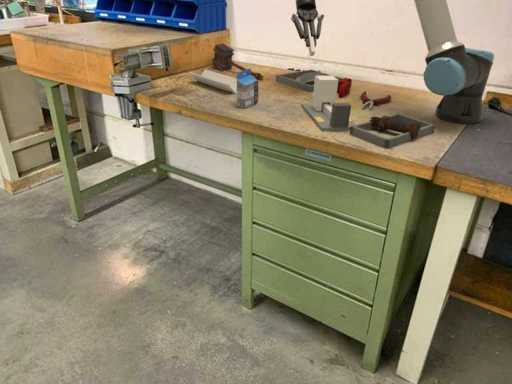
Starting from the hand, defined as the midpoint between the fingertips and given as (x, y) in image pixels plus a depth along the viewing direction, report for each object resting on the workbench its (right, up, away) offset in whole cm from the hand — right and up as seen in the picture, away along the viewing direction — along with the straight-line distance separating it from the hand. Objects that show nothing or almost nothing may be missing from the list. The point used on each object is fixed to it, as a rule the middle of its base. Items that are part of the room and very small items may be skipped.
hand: (312, 53), depth 156 cm
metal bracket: (+2, -4, +28) cm, 28 cm away
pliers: (+22, -18, +4) cm, 29 cm away
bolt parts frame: (+22, -33, -25) cm, 47 cm away
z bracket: (-36, -8, +18) cm, 41 cm away
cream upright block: (+2, -22, -9) cm, 24 cm away
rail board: (+3, -26, -14) cm, 30 cm away
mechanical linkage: (+14, -11, +15) cm, 23 cm away
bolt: (+22, -33, -25) cm, 47 cm away
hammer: (-29, +3, +39) cm, 49 cm away
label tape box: (-24, -20, -4) cm, 32 cm away
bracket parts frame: (+3, -4, +27) cm, 28 cm away
